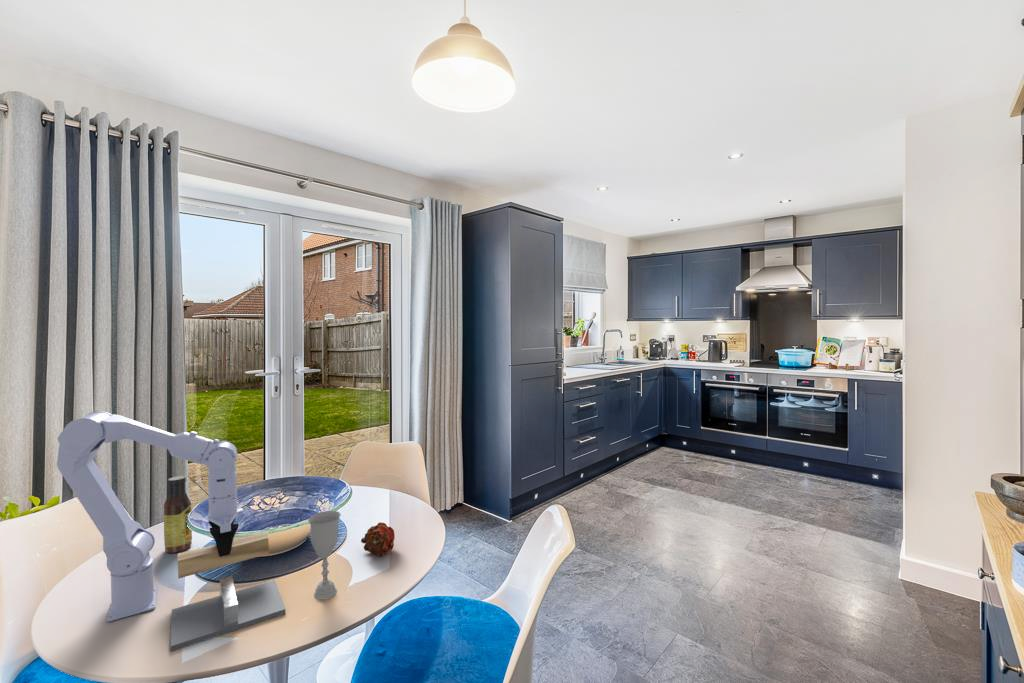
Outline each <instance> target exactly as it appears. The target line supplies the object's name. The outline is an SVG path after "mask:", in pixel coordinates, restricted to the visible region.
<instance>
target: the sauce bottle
mask: <svg viewBox="0 0 1024 683" xmlns="http://www.w3.org/2000/svg"><path fill="white" fill-rule="evenodd" d="M186 481H187V480H186V476H184V475H177V476H173V477H169V478H168V479H167V486H168V497H167V498H166V500H165V501H164V504H163V533H164V534H163V536H164V537H163V538H164V539H163V540H164V541H163V542H164V550H165V552H166V553H168V554H175V553H181V552H183V551H185V550H187V549H189V548H190V547H192V540H193V534H192V532H193V529H192V530H190V529H189V528H188V527H187V515H188V514H189V513H190V512H191V513H192V503H191V500H190V498H189V496H188V494H187V492H186Z"/></svg>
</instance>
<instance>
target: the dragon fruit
mask: <svg viewBox="0 0 1024 683" xmlns="http://www.w3.org/2000/svg"><path fill="white" fill-rule="evenodd" d="M394 541H395V531H394V529H393V527H391V526H388V525H387V524H386V523H385V522H378V523H377V524H376V525H374V526H373V525H371V527H369V529H367V531H366V532H365V534H364V537H362V538H361V540H360V542H361V543H362V544H364V546H363V549H364V551H365V552H369V553H370V554H372V555H375V556H377V557H378V556H379V557H381V556H384V555H385V554H387V552H389V551H392V550H393V548H394V547H395V544H394Z"/></svg>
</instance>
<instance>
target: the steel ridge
mask: <svg viewBox="0 0 1024 683" xmlns="http://www.w3.org/2000/svg"><path fill="white" fill-rule="evenodd" d="M235 591H236V589H235V584H234V577H233V575H231V576H227V577H224V578H220V579H219V596H220V599H221V606H222V613H223V621H224V627H227V626H230V625H233V624H237V623H238V603H237V598H236V593H235Z"/></svg>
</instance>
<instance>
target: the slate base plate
mask: <svg viewBox="0 0 1024 683" xmlns="http://www.w3.org/2000/svg"><path fill="white" fill-rule="evenodd" d="M235 593H236V598H237V603H238V623H237V624H233V625H230V626H227V627H224V621H223V613H222V606H221V599H220V595H217V596H213V597H210V598H207V599H203V600H200V601H197V602H194V603H193V602H192V603H189V604H186V605H182V606H179V607H176V608H172V609H171V624H170V626H171V627H170V628H171V630H170V652H173V651H176V650H179V649H182V648H186V647H188V645H189V646H191V645H190V644H192V645H194V643H195V644H198V643H200V642H203V641H206V640H209V639H213V638H215V637H218V636H221V635H225V634H227V633H230V632H231V633H232V632H233V631H237V630H240V629H242V628H246V627H248V626H251V625H255V624H259V623H261V622H264V621H267V620H270V619H273V618H276V617H280V616H282V615H284V614H285V615H286V607H285V604H284V601H283V599H282V596H281V594H280V591H279V588H278V585H277V582H276V580H275V579H273V580H270V581H266V582H263V583H258V584H255V585H252V586H249V587H245V588H242V589H239V590H235ZM197 642H198V643H197ZM185 646H186V647H185Z"/></svg>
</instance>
